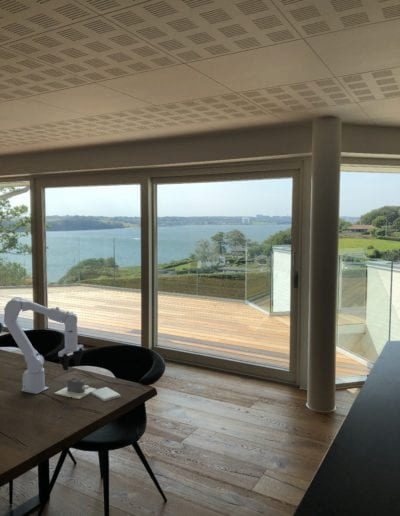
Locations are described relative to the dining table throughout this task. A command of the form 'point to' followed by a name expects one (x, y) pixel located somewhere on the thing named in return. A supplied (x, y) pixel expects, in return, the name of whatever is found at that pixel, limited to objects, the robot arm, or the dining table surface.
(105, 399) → the hard drive
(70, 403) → the dining table surface
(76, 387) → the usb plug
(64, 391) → the rubber mat
